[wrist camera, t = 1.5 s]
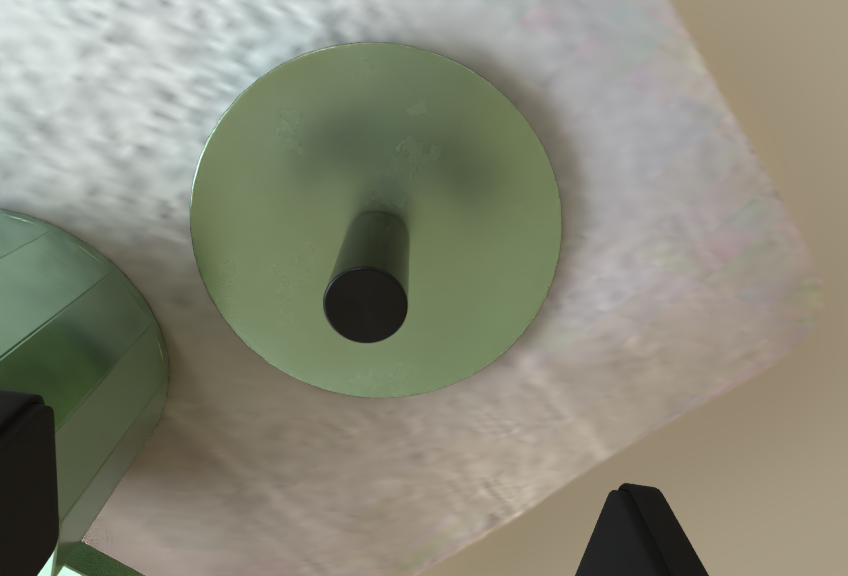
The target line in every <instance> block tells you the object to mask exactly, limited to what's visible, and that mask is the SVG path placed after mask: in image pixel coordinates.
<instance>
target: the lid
mask: <svg viewBox="0 0 848 576" xmlns="http://www.w3.org/2000/svg"><path fill="white" fill-rule="evenodd" d="M190 231H191V238H192V244H193V250H194V255H195V259H196V262H197V265H198V269H199V272H200V275H201V278H202V280H203V282H204V284H205V287H206V289H207V291H208V293H209V295H210V297H211V299H212V301H213V302H214V304H215V306H216V307H217V309H218V311H219V312H220V314H221V316H222V317H223V318H224V319H225V321H226V322H227V323H228V324H229V326H230V327H231V328H232V330H233V331H234V332H235V333H236V334H237V335H238V336H239V337H240V338H241V339H242V340H243V341H244V342H245V343H246V344H247V345H248V346H249V347H250V348H251V349H252V350H253V351H254V352H256V353H257V354H258V355H259V356H261V357H262V358H263V359H265V360H266V361H267V362H268V363H270V364H271V365H273V366H275V367H276V368H278V369H280V370H281V371H283V372H284V373H286V374H288V375H290V376H292V377H294V378H296V379H298V380H300V381H303V382H305V383H307V384H309V385H312V386H315V387H318V388H321V389H324V390H327V391H331V392H335V393H340V394H344V395H349V396H358V397H367V398H395V397H404V396H413V395H418V394H422V393H426V392H431V391H435V390H438V389H441V388H443V387H446V386H449V385H452V384H455V383H457V382H459V381H461V380H463V379H465V378H467V377H469V376H471V375H473V374H475V373H476V372H478V371H480V370H481V369H483V368H484V367H486V366H487V365H489V364H490V363H492V362H493V361H494V360H495V359H497V358H498V357H499V356H500V355H502V354H503V353H504V352H505V351H506V350H508V349H509V348H510V347H511V345H512V344H513V343H514V342H515V341H516V340H517V339H518V338H519V337H520V336H521V335H522V334H523V333H524V331H525V330H526V328H527V327H528V326H529V324H530V323H531V322H532V320H533V319H534V318H535V316H536V314H537V313H538V311H539V309H540V307H541V305H542V304H543V302H544V300H545V298H546V296H547V294H548V291H549V288H550V286H551V283H552V281H553V278H554V276H555V271H556V267H557V263H558V259H559V255H560V247H561V238H562V210H561V203H560V197H559V191H558V185H557V182H556V178H555V175H554V172H553V169H552V166H551V163H550V160H549V158H548V156H547V154H546V152H545V150H544V148H543V145H542V143H541V141H540V139H539V138H538V136H537V135H536V133H535V132H534V130H533V129H532V127H531V126H530V124H529V122H528V121H527V119H526V118H525V117H524V116H523V114H522V113H521V112H520V111H519V110H518V109H517V108H516V107H515V105H514V104H513V103H512V102H511V101H510V100H509V99H508V98H507V97H506V96H505V95H504V94H503V93H502V92H500V91H499V90H498V89H497V88H496V87H495V86H493V85H492V84H491V83H490V82H489V81H487V80H486V79H484V78H483V77H481V76H480V75H478V74H477V73H475V72H473V71H472V70H470V69H469V68H467V67H466V66H464V65H462V64H460V63H457V62H455V61H453V60H451V59H449V58H447V57H444V56H442V55H440V54H437V53H433V52H430V51H427V50H423V49H420V48H417V47H413V46H407V45H400V44H393V43H386V42H358V43H350V44H343V45H335V46H330V47H326V48H323V49H319V50H316V51H312V52H309V53H305V54H303V55H301V56H298V57H296V58H294V59H292V60H290V61H287V62H285V63H283V64H281V65H279V66H278V67H276V68H274V69H273V70H271V71H270V72H268V73H267V74H265V75H264V76H262V77H260V78H259V79H258V80H256V81H255V82H254V83H253V84H252V85H251V86H250V87H248V88H247V89H246V90H245V91H244V92H243V93H242V94H240V95H239V96H238V97H237V99H236V100H235V101H234V102H233V103H232V104H231V106H230V107H229V108H228V109H227V110H226V111H225V113H224V114H223V115H222V116H221V118H220V120H219V121H218V123H217V124H216V126H215V128H214V129H213V131H212V133H211V134H210V136H209V138H208V140H207V142H206V144H205V147H204V149H203V151H202V154H201V156H200V158H199V161H198V165H197V169H196V172H195V176H194V180H193V184H192V193H191V201H190Z"/></svg>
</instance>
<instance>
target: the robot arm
mask: <svg viewBox="0 0 848 576" xmlns="http://www.w3.org/2000/svg"><path fill="white" fill-rule="evenodd" d="M59 531H60V529H59V508H58V486H57V464H56V442H55V420H54V410H53V408H52V407H51V406H48V405H45V402H44V399H43V398H42V396H40V395H38V394H31V393H25V392H18V391H11V390H5V389H1V390H0V576H38V574H39V573H40V571H41V570H42V569H43V567H44V566H45V564H46V563H47V561H48V560H49V559H50V557H51V555H52V554H53V552H54V550H55V548H56V545H57V542H58V538H59ZM575 576H709V575H708V573H707V572H706V570H705V568H704V566H703V565H702V563H701V561H700V559H699V558H698V556H697V554H696V552H695V550H694V549H693V547H692V545H691V543H690V542H689V540H688V538H687V536H686V535H685V533H684V531H683V529H682V527H681V526H680V524H679V522H678V520H677V519H676V517H675V515H674V513H673V511H672V510H671V508H670V506H669V504H668V503H667V501H666V499H665V497H664V496H663V494H662V493H661V492H660V490H659V489H657V488H655V487H649V486H642V485H635V484H629V483H624V484H622V485H621V486H620V487H619V489H618V490H612V491H611V492H610V493H609V495H608V497H607V499H606V502H605V504H604V507H603V509H602V511H601V514H600V516H599V519H598V521H597V523H596V526H595V528H594V531H593V533H592V536H591V538H590V541H589V543H588V545H587V548H586V550H585V553H584V555H583V558H582V560H581V563H580V565H579V567H578V570H577V572H576V575H575Z"/></svg>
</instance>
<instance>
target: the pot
mask: <svg viewBox="0 0 848 576" xmlns="http://www.w3.org/2000/svg"><path fill="white" fill-rule="evenodd" d="M168 386H169V361H168V356H167V350H166V345H165V342H164V339H163V336H162V333H161V330H160V327H159V325H158V323H157V321H156V319H155V317H154V315H153V313H152V311H151V309H150V308H149V306H148V305H147V303H146V302H145V300H144V299H143V297H142V296H141V294H140V293H139V291H138V290H137V289H136V288H135V287H134V285H133V284H132V283H131V282H130V281H129V279H128V278H127V277H126V276H125V275H124V274H123V273H122V272H121V271H120V270H119V269H118V268H117V267H116V266H115V265H114V264H113V263H112V262H111V261H110V260H108V259H107V258H106V257H104V256H103V255H102V254H101V253H99V252H98V251H97V250H95V249H94V248H93V247H92V246H90V245H88V244H87V243H85V242H84V241H82V240H80V239H79V238H77V237H76V236H74V235H72V234H71V233H69V232H67V231H64V230H62V229H60V228H58V227H56V226H54V225H52V224H50V223H48V222H45V221H42V220H39V219H37V218H34V217H31V216H28V215H25V214H21V213H17V212H12V211H8V210H4V209H0V390H1V389H5V390H11V391H18V392H25V393H31V394H38V395H40V396H42V398H43V399H44V402H45V405H48V406H51V407H52V408H53V410H54V420H55V442H56V464H57V486H58V508H59V529H60V531H59V538H58V542H57V545H56V548H55V550H54V552H53V554H52V555H51V557H50V559H49V560H48V561H47V563H46V564H45V566H44V567H43V569H42V570H41V571H40V573H39V574H38V576H145V575H143V574H141V573H139V572H137V571H136V570H134V569H132V568H130V567H128V566H126V565H124V564H122V563H121V562H119V561H117V560H115V559H113V558H111V557H109V556H108V555H106V554H104V553H102V552H100V551H98V550H96V549H95V548H93V547H91V546H89V545H87V544H85V543H83V542H81V539H82V538H83V536H84V535H85V533H86V532H87V530H88V529H89V527H90V526H91V524H92V523H93V521H94V520H95V518H96V517H97V515H98V514H99V512H100V511H101V509H102V508H103V506H104V505H105V503H106V502H107V500H108V499H109V497H110V496H111V494H112V493H113V491H114V490H115V488H116V487H117V485H118V484H119V482H120V481H121V479H122V478H123V476H124V475H125V473H126V472H127V470H128V469H129V467H130V466H131V464H132V463H133V461H134V460H135V458H136V457H137V455H138V454H139V452H140V451H141V449H142V448H143V446H144V445H145V443H146V442H147V440H148V439H149V437H150V436H151V434H152V433H153V431H154V430H155V428H156V427H157V425H158V421H159V417H160V415H161V413H162V410H163V408H164V405H165V401H166V398H167V394H168Z"/></svg>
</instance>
